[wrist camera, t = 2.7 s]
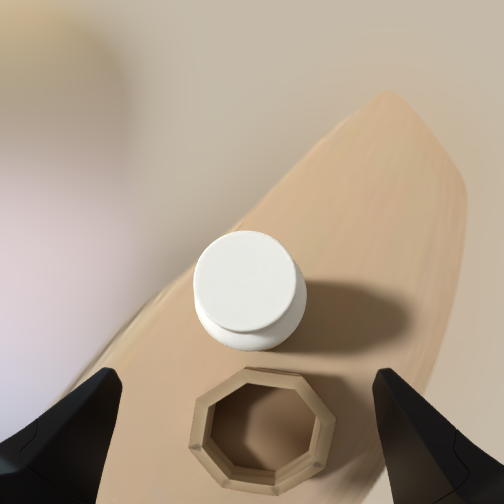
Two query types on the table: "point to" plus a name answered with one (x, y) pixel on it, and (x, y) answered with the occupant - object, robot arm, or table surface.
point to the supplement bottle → (249, 291)
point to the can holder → (261, 431)
